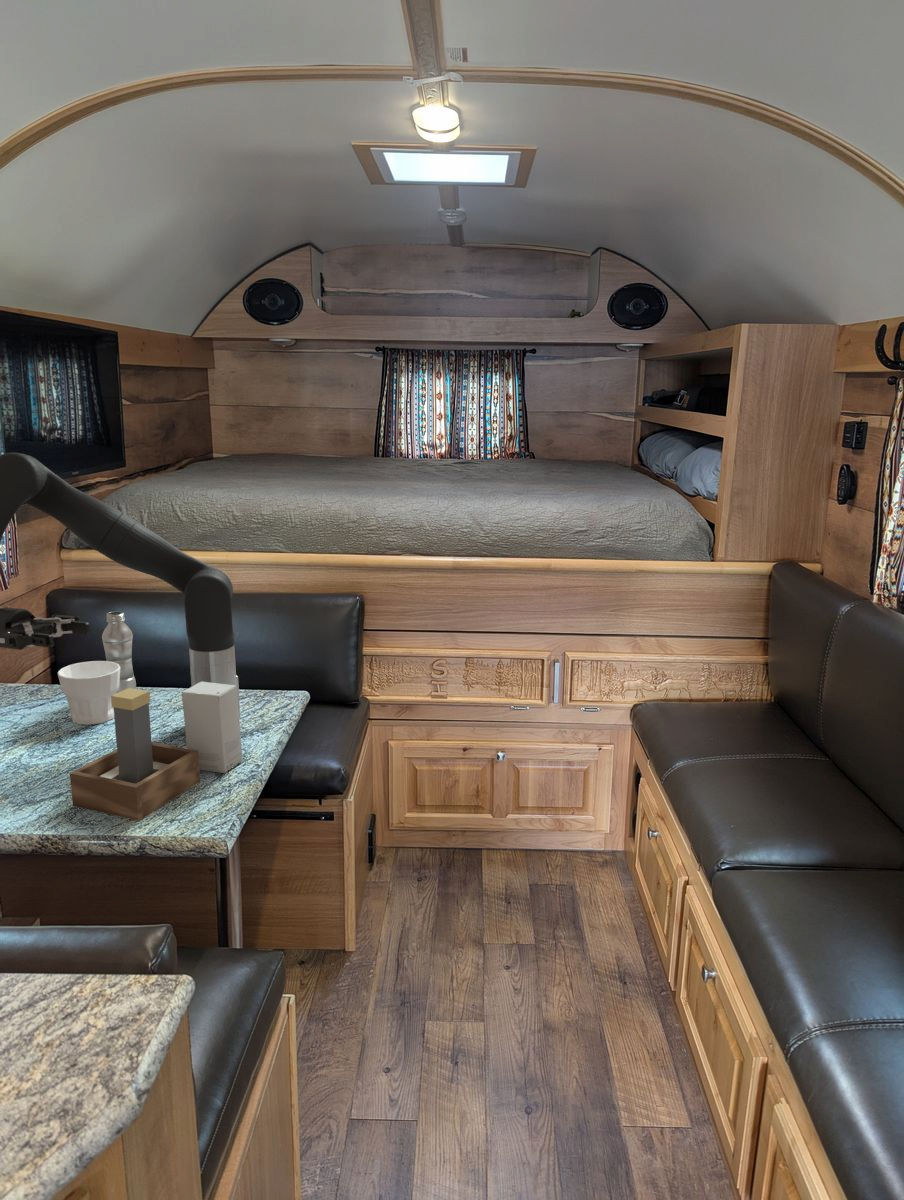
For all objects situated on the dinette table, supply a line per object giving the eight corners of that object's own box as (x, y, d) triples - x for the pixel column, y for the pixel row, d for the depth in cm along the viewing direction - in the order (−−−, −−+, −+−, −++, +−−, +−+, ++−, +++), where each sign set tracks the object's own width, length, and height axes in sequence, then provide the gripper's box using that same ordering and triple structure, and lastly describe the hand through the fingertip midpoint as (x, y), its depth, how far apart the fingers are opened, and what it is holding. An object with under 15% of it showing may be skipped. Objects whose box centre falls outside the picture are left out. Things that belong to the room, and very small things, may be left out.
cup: (53, 716, 182) (49, 668, 180) (111, 703, 191) (107, 657, 188) (73, 733, 174) (68, 682, 171) (133, 719, 182) (129, 670, 179)
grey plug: (136, 783, 150) (129, 687, 146) (156, 787, 149) (149, 691, 145) (118, 793, 146) (110, 695, 142) (139, 797, 145) (131, 699, 141)
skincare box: (243, 761, 161) (239, 684, 158) (223, 775, 155) (219, 696, 152) (206, 755, 164) (202, 679, 160) (185, 768, 158) (180, 690, 154)
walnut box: (138, 769, 157) (136, 739, 156) (200, 781, 152) (198, 751, 151) (72, 805, 143) (69, 773, 141) (138, 821, 138) (136, 787, 136)
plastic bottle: (105, 693, 197) (98, 611, 192) (136, 690, 200) (130, 609, 195) (106, 702, 191) (99, 618, 187) (138, 699, 194) (131, 615, 189)
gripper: (-34, 617, 148) (36, 624, 143) (31, 599, 161) (97, 605, 156) (-28, 657, 150) (42, 666, 145) (36, 636, 163) (102, 643, 158)
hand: (70, 634), depth 150 cm, fingers open, 8 cm apart
